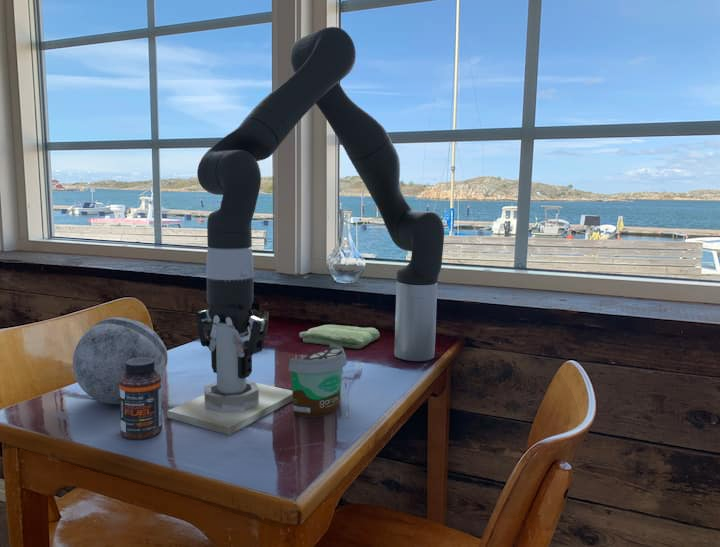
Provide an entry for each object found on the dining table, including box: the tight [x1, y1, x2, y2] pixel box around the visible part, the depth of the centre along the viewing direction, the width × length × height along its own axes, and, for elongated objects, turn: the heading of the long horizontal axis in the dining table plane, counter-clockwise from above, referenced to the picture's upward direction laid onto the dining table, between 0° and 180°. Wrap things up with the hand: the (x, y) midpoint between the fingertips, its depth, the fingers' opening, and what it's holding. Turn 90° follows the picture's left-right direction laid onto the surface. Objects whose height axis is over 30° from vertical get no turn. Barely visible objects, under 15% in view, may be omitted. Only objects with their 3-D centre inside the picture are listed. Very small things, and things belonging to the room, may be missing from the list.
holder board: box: [167, 380, 293, 436], centre depth 95 cm, size 18×13×4 cm
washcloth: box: [299, 324, 381, 350], centre depth 141 cm, size 13×18×3 cm
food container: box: [288, 343, 348, 418], centre depth 94 cm, size 12×6×10 cm, turn 148°
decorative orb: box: [72, 316, 169, 405], centre depth 96 cm, size 15×14×15 cm
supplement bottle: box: [119, 357, 163, 440], centre depth 84 cm, size 6×6×11 cm
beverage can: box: [216, 322, 247, 395], centre depth 93 cm, size 5×5×12 cm
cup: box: [249, 309, 270, 332], centre depth 134 cm, size 8×7×8 cm
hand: (231, 374), depth 94 cm, fingers closed on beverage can, 5 cm apart
